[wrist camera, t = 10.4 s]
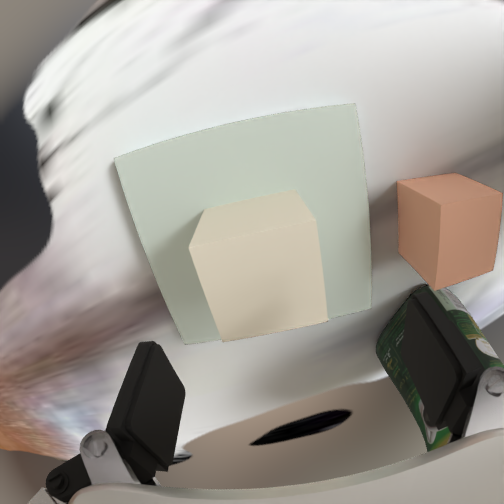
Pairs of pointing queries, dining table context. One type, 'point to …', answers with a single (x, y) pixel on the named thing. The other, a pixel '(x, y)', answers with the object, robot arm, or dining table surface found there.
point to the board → (250, 186)
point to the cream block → (260, 265)
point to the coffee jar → (397, 370)
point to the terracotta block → (448, 227)
